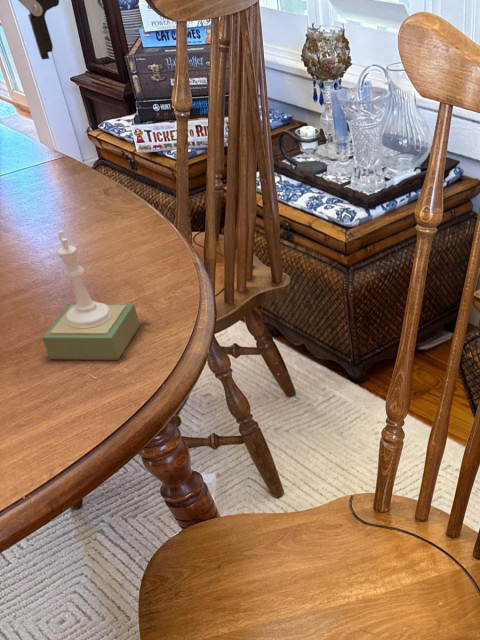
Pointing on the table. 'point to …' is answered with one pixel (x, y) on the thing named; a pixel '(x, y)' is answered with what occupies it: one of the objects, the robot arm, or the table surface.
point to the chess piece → (81, 292)
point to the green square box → (92, 336)
